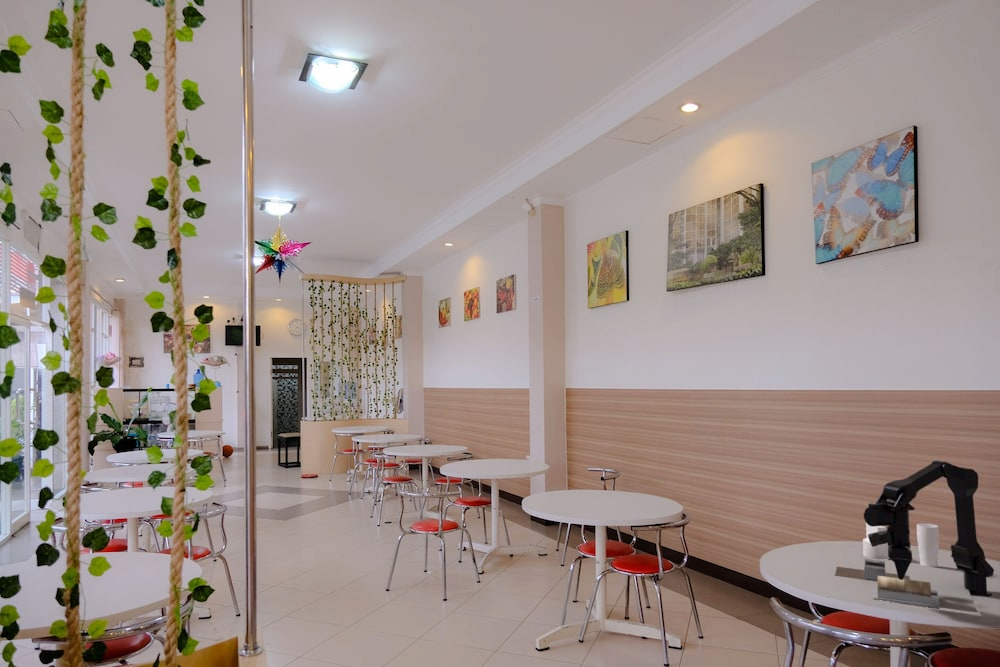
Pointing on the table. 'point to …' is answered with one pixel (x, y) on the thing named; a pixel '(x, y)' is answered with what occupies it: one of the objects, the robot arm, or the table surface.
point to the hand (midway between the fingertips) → (900, 575)
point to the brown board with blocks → (867, 571)
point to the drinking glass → (928, 544)
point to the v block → (909, 597)
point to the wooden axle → (904, 585)
